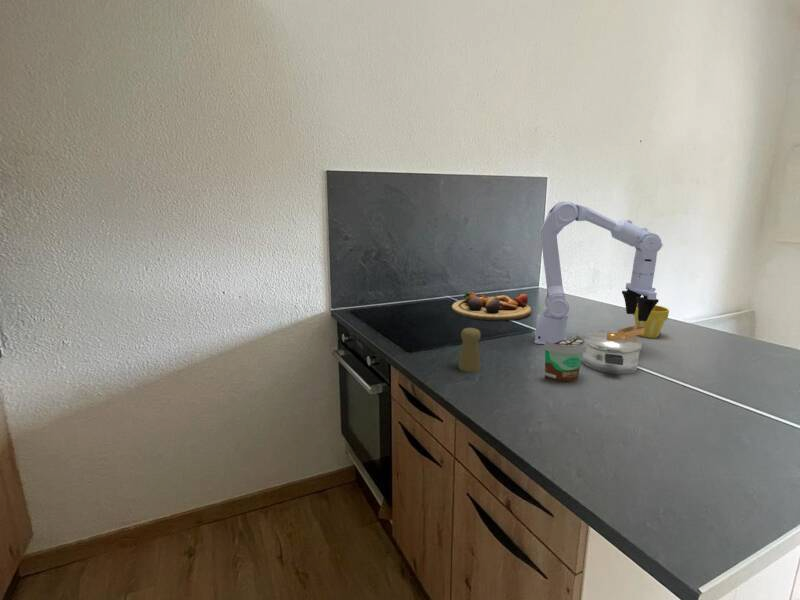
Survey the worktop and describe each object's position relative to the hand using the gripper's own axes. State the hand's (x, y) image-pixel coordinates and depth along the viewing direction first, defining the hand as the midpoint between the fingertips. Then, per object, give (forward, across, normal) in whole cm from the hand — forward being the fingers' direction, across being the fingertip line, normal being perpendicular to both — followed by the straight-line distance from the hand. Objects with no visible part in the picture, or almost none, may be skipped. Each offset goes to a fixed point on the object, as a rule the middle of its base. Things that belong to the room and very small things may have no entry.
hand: (636, 317), depth 130 cm
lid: (+4, -12, +10) cm, 16 cm away
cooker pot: (+10, -14, +13) cm, 21 cm away
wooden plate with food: (+11, +43, +37) cm, 58 cm away
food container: (+10, -25, +28) cm, 38 cm away
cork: (+11, -19, +52) cm, 56 cm away
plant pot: (+10, +14, -12) cm, 21 cm away
